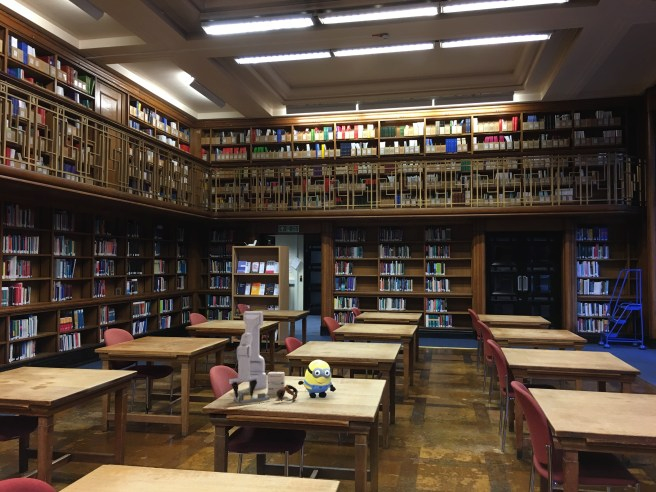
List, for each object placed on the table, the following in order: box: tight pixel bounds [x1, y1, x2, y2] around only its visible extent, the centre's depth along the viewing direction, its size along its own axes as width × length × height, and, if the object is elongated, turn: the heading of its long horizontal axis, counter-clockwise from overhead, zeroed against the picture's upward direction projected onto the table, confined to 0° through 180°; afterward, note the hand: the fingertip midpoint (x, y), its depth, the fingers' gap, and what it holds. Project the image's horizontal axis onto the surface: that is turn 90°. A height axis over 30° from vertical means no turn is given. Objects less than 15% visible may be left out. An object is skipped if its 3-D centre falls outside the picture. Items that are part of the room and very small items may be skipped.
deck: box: [229, 391, 239, 398], centre depth 261 cm, size 8×8×1 cm
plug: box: [238, 389, 250, 400], centre depth 251 cm, size 4×5×6 cm
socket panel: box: [233, 393, 271, 407], centre depth 251 cm, size 16×8×2 cm, turn 117°
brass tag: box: [243, 394, 251, 400], centre depth 247 cm, size 4×1×2 cm, turn 117°
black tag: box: [257, 392, 266, 398], centre depth 250 cm, size 4×1×2 cm, turn 117°
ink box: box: [266, 371, 286, 395], centre depth 265 cm, size 9×5×12 cm, turn 84°
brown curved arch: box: [275, 384, 299, 402], centre depth 255 cm, size 12×10×8 cm
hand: (244, 396), depth 251 cm, fingers open, 7 cm apart
